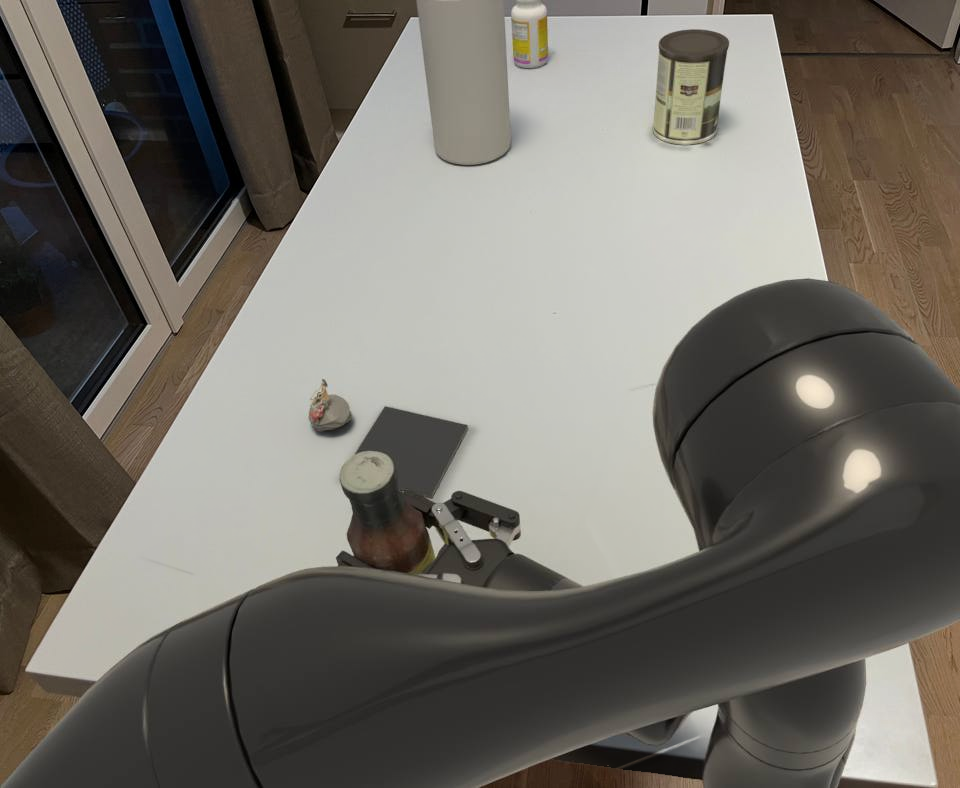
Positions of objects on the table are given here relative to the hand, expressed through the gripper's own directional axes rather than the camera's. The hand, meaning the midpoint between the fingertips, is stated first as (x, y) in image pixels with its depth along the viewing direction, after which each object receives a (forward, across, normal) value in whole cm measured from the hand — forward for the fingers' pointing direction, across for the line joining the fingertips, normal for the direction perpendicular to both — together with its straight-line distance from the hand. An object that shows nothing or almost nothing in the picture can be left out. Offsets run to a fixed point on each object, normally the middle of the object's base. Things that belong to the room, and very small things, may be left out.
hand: (368, 529), depth 64 cm
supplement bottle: (+50, -106, +11) cm, 118 cm away
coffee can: (+13, -93, +11) cm, 95 cm away
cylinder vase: (+41, -73, +11) cm, 84 cm away
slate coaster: (+10, -15, +11) cm, 21 cm away
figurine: (+20, -14, +11) cm, 27 cm away
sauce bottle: (-2, 0, +11) cm, 11 cm away
